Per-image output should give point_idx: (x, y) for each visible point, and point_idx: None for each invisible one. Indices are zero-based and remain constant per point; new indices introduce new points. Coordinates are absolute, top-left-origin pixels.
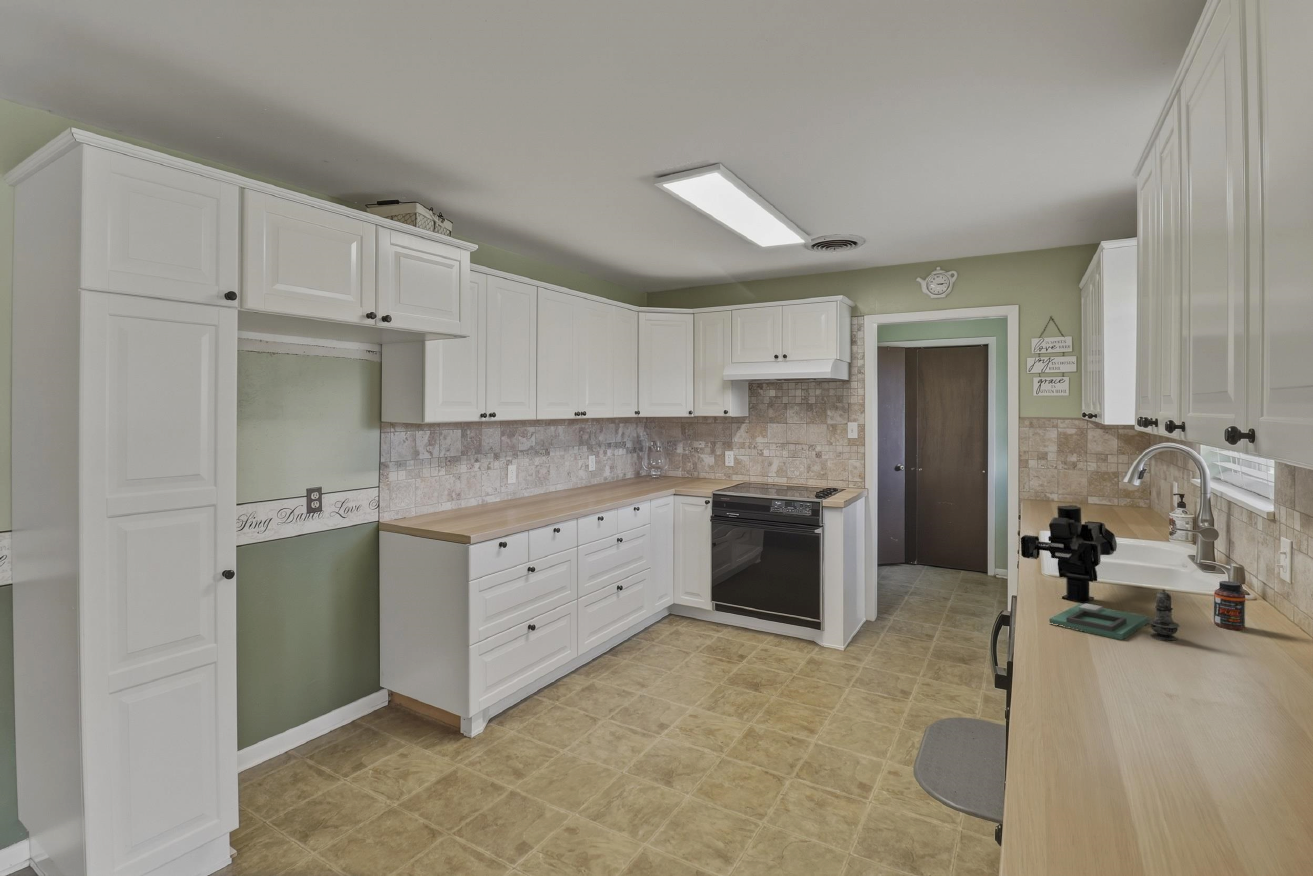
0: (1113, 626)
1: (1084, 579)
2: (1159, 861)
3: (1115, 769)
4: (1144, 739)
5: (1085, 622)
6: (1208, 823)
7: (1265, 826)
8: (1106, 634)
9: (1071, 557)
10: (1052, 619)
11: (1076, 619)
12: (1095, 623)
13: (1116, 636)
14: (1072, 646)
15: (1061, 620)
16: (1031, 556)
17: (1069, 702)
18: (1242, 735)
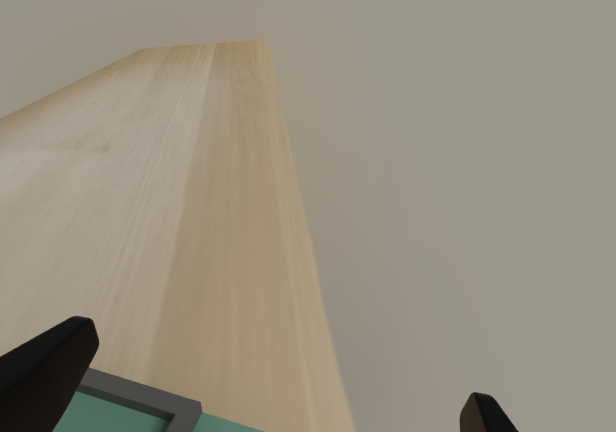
0: None
1: None
2: (208, 44)
3: (213, 70)
4: (179, 91)
5: (134, 383)
6: (174, 55)
7: (142, 57)
8: None
9: (50, 329)
10: (254, 429)
11: (163, 392)
12: (100, 372)
13: None
14: (209, 263)
15: (219, 428)
16: (462, 418)
17: (236, 115)
18: (76, 107)
